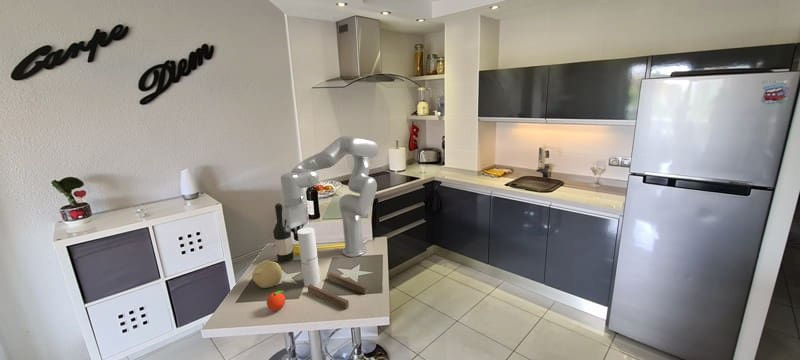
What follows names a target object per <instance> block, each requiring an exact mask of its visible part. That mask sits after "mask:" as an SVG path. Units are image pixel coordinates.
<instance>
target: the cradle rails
mask: <svg viewBox="0 0 800 360" xmlns="http://www.w3.org/2000/svg"><path fill="white" fill-rule="evenodd" d="M327 280H328V281H330V282H333V283H335V284H338V285H340V286H343V287H346V288H349V289H350V290H353V291H357V292H358V293H361V294H364V295H366V294H368V285H366V284H363V283H359V282H357V281H354V280H352V279H349V278H347V277H344V276H341V275H338V274H336V273H333V272H328V273H327ZM307 292H308V293H309V294H312V295H314V296H315V297H318V298H320V299H322V300H324V301H327V302H328V303H332V304H334V305H336V306H337V307H340V308H342V309H345V310H347V309H349V307H350V305H349V304H350V303H349V300H348V299H346V298H343V297H341V296H339V295H336V294H334V293H331V292H329V291H327V290H324V289H322V288H320V287H317V286H316V285H315V286H313V285H309V286H307Z"/></svg>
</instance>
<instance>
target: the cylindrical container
mask: <svg viewBox="0 0 800 360" xmlns="http://www.w3.org/2000/svg"><path fill="white" fill-rule="evenodd" d="M297 234H298V241H297V242H298V247H299V248H298V249H299V256H300V264H301V271H302V272H301V273H302V279H303V284H304V286H306V287H308V286H309V285H313V286H315V287H316V286H317V285H319V284H320V282H321V277H320V276H321V275H320V266H319V259H318V250H317V243H316V233H315V228H314V227H310V226H309V227H308V226H307V227H303V228H302V229H299V230H298V231H297Z"/></svg>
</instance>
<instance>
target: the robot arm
mask: <svg viewBox="0 0 800 360" xmlns="http://www.w3.org/2000/svg"><path fill="white" fill-rule="evenodd" d="M379 150H380V148H379V145H378V143H377V142H375V141H374V140H371V139H365V138H361V137H357V136H350V135H349V136H348V135H344V136H343V135H341V136H339V137H338V138H336V139H335V140H334V141H333V142H331V143H330V144H329V145H328V146H326V147H325V148H324V149H322V151H320V152H319V153H316V154H314V155H312V156H309V157H307V158H305V159H304V160H302V161H301V162H300V163H298V164H297V165H296V166H295V167H294V168H292V170H291V171H290V172H286V173H283V174H281V176H280V184H281V191H282V199H283V205H282V222H283V227H286V228H285V231H286V232H291V233H293V234H292V235H293V240H294V241H296V242H298V234H297V231H298V230H299V229H302V228H304V226H306V225H307V224H308V223H307V222H308V215H307V209H306V206H305V204H304V201H303V199H304V196H303V195H302V189H304V188H312V187H315V185H316V186H317V184H318V183H319V179H320V178H319V175H318V173H317V172H316V171H319V170H324V169H328V168H331V167H334V166H335V165H336V164H337V163H338V162H340V161H341V160H342V159H343V158H344V157H345V156H346V155H352V158H353V164H354V165H353V169H352V171H351V174H350V177H349V180H348V184H347V185H348V186H347V187H348V190H349V191H351V192H352V193H355V194H351V193H350V194H349V193H348V194H344V195H342V196H341V197H340V198H339V201H338V202H339V203H338V204H339V205H338V206H339V210H340V213H341V219H342V228H343V237H344V239H343V240H344V248H342V254H343V256H346V257H348V258H349V257H352V258H353V257H354V258H355V257H359V256H362V255H363V254H365V253H366V252H367V247H366V246H365V245H366V244H367V243H368V242H369V239H368V238H365V239H363V230H362V229H363V227H362V218H361V217H365V216H367V215H369V213H370V212H371V209H372V206H373V203H374V200H375V197H376V193H377V190H378V183H377V181H376V179H375V178H374V177H372V176H369V174H370V171H371V163H370V160H369V159H372V158H375V157H376V156H377V155H378V154H379ZM356 194H359V195H356Z"/></svg>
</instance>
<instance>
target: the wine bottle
mask: <svg viewBox="0 0 800 360" xmlns="http://www.w3.org/2000/svg"><path fill="white" fill-rule="evenodd" d="M282 208H283V205H282V204H281V203H275V205H274V210H275V216H276V217H275V218H276V224H275V227H274V228H273V232H272V233H273V239H274V244H275V252H276V259H277V262H278V263H281V264H284V263H289V262H292V261H293V260H294V258H295V254H294V253H295V252H294V247H293V245H294V244H293V238H292V232H286V231H285V228H286V227H283V222H282Z"/></svg>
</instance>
